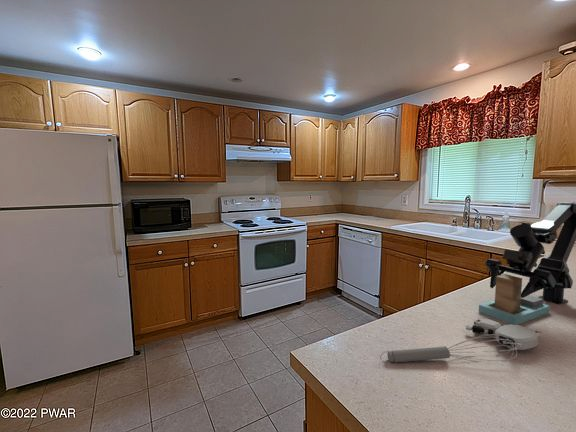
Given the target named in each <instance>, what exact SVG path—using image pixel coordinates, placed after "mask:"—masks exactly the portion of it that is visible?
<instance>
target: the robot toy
mask: <svg viewBox="0 0 576 432" xmlns="http://www.w3.org/2000/svg"><path fill="white" fill-rule="evenodd" d="M473 324H474V325H472V326H471V325H466V326H465V329H466V330H467V331H472V333H473V334H474V333H475V334H479V335H480V334H481V336H483V335H486V336H485V337H489V338H493V337H498V338H494V340H495V341H496V342H498V344H500V345H506V346H505V347H507V349H508V350H511V348H512V347H510V346H512V345H513V343H514V347H517V349H516V348H514V347H513V348H512V349H514V350H513V351H524V350H525V351H527V350H530V349H533V348H535V347H536V346H537V345H538V344H539V334H543V333H545V332H544V331H541V330H539V331H538V330H534V329H532V328H528V327H525V326H522V325H520V324H518V325H512V324H505V325H504V324H503V325H502V324H501V323H500V322H497V321H496V320H494V319H492V318H483V319H481V318H480V319H477V320H474V322H473ZM490 334H496V335H490ZM500 335H502V336H500ZM503 336H505V337H503ZM500 338H502V339H506V341H505V340H499V339H500ZM508 339H509V340H511V344H512V345H511V344H510V343H509V342H510V341H509V340H508ZM507 341H508V342H507ZM515 349H516V350H515Z"/></svg>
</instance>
